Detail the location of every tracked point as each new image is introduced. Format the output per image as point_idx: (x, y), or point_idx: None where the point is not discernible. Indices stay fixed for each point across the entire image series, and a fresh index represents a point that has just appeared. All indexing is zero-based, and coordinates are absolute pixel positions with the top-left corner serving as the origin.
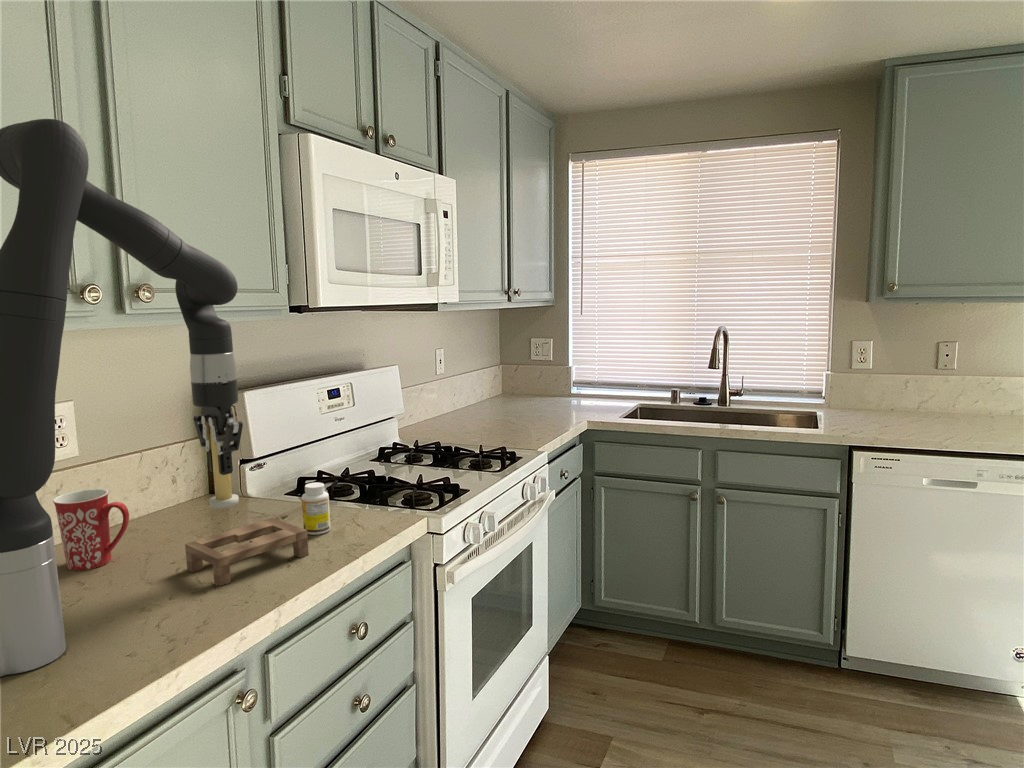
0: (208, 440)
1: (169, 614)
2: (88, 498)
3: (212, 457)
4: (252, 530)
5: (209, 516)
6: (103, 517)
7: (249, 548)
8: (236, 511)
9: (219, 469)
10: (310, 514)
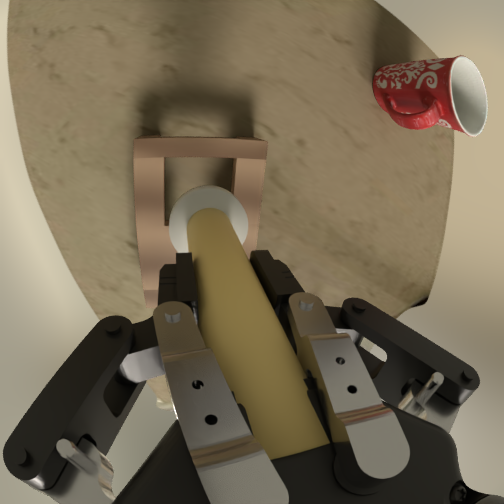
0: (300, 337)
1: (117, 47)
2: (471, 121)
3: (242, 280)
4: None
5: (391, 266)
6: (423, 99)
7: (135, 204)
8: (374, 294)
9: (187, 259)
10: None
